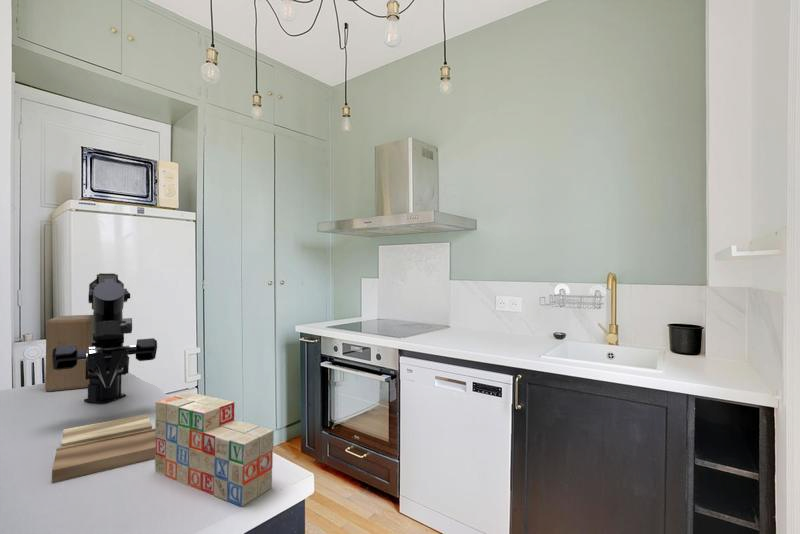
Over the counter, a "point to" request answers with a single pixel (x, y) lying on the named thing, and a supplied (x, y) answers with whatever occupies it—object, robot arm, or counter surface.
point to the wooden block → (67, 333)
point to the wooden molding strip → (103, 454)
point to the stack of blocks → (212, 448)
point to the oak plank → (105, 430)
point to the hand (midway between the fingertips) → (107, 386)
